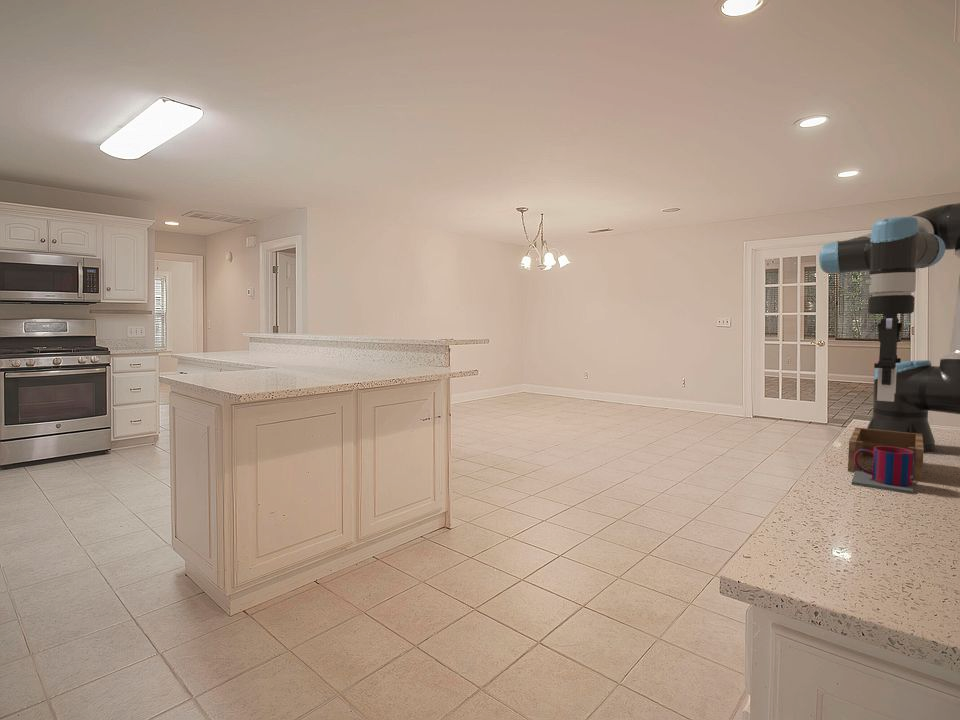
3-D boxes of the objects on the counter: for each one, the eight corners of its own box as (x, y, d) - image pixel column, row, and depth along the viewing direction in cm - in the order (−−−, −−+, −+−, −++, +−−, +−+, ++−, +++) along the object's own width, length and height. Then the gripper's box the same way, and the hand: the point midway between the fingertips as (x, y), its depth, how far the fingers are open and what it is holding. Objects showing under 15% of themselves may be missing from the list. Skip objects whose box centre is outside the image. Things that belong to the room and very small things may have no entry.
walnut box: (854, 454, 134) (855, 427, 134) (920, 462, 126) (922, 433, 125) (847, 471, 120) (849, 441, 119) (922, 481, 112) (923, 449, 111)
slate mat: (855, 473, 118) (855, 470, 118) (912, 481, 112) (912, 478, 112) (851, 484, 110) (851, 481, 110) (912, 493, 104) (913, 491, 104)
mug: (913, 488, 105) (915, 455, 105) (852, 479, 112) (853, 448, 111) (911, 480, 111) (913, 448, 110) (853, 472, 117) (855, 442, 116)
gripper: (871, 296, 120) (868, 388, 122) (864, 294, 101) (860, 403, 103) (914, 295, 115) (909, 390, 117) (915, 292, 96) (909, 406, 98)
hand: (886, 396), depth 110 cm, fingers open, 13 cm apart
